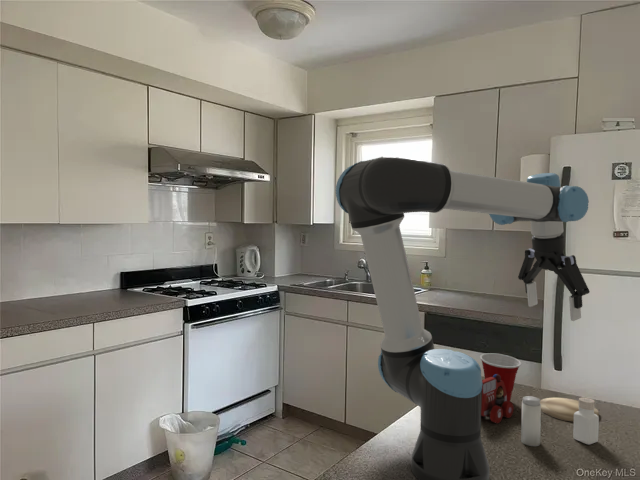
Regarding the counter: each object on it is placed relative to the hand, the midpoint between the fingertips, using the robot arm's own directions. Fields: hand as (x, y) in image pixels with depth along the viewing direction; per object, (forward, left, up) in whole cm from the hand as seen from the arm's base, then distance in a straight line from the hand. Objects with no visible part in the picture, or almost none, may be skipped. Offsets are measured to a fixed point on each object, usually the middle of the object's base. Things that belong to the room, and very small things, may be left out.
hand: (553, 312), depth 126 cm
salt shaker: (-23, +3, -26) cm, 35 cm away
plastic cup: (0, +13, -27) cm, 30 cm away
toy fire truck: (-12, +13, -27) cm, 32 cm away
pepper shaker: (-16, -8, -27) cm, 32 cm away
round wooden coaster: (+1, -4, -26) cm, 27 cm away
